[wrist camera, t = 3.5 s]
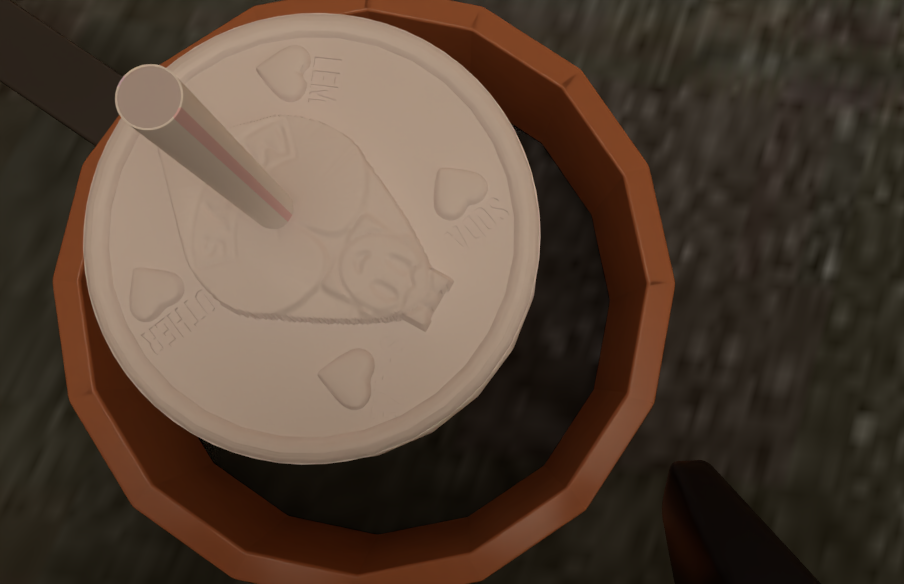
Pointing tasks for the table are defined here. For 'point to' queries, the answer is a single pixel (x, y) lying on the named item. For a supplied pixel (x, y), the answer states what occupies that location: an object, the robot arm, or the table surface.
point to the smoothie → (311, 238)
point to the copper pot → (235, 505)
